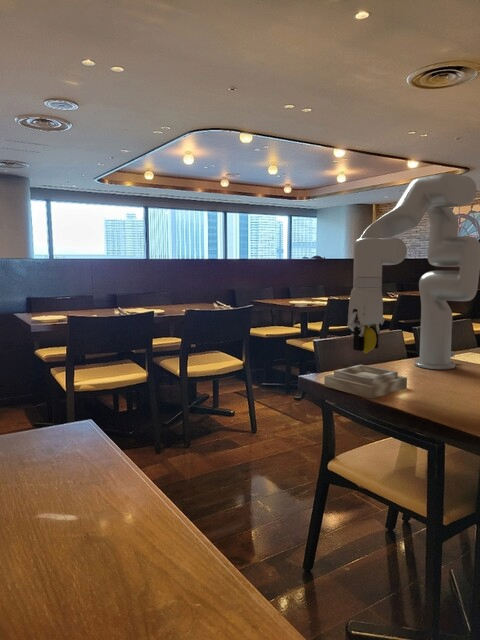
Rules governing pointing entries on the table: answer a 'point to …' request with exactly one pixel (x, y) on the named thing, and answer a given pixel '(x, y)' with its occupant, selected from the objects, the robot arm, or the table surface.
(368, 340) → the lemon
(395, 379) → the stand
